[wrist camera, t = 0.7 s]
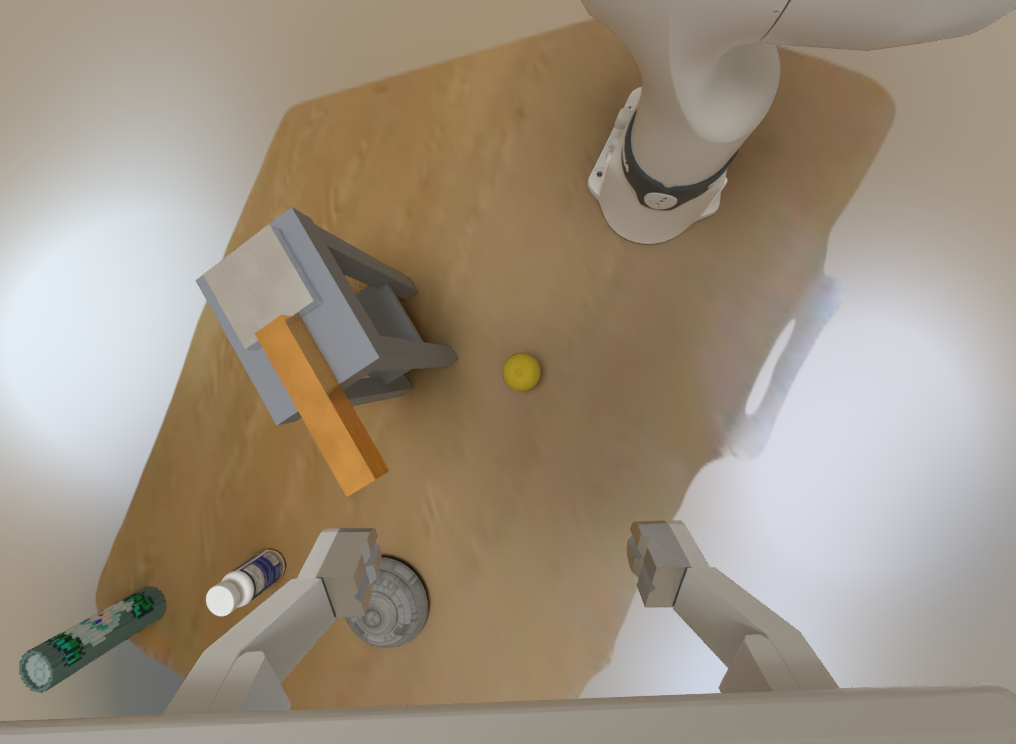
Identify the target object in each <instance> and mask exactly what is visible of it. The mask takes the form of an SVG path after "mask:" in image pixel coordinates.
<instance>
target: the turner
mask: <svg viewBox="0 0 1016 744" xmlns="http://www.w3.org/2000/svg"><path fill="white" fill-rule="evenodd" d="M203 275H204V277H205V279H206V281H207V283H208V284H209V286H210V288H211V290H212V291H213V293H214V295H215V297H216V299H217V300H218V302H219V304H220V306H221V308H222V309H223V311H224V313H225V315H226V316H227V318H228V320H229V322H230V324H231V325H232V327H233V329H234V331H235V332H236V334H237V336H238V338H239V340H240V341H241V343H242V345H243V347H244V348H245V350H257V349H258V348H260V347H261V346H262V348H263V349H264V351H265V353H266V355H267V357H268V358H269V360H270V362H271V364H272V365H273V367H274V369H275V371H276V372H277V374H278V376H279V378H280V380H281V381H282V383H283V385H284V387H285V388H286V390H287V392H288V394H289V396H290V397H291V399H292V401H293V403H294V404H295V406H296V408H297V410H298V411H299V413H300V415H301V417H302V419H303V420H304V422H305V424H306V426H307V427H308V429H309V431H310V433H311V434H312V436H313V438H314V440H315V442H316V443H317V445H318V447H319V449H320V450H321V452H322V454H323V456H324V458H325V459H326V461H327V463H328V465H329V466H330V468H331V470H332V472H333V473H334V475H335V477H336V479H337V481H338V482H339V484H340V486H341V488H342V489H343V491H344V493H345V495H346V496H347V497H348V496H349V495H351V494H353V493H354V492H356V491H358V490H359V489H361V488H363V487H364V486H366V485H368V484H369V483H371V482H372V481H374V480H376V479H377V478H379V477H381V476H382V475H384V474H385V473H387V472H388V471H389V470H388V468H387V466H386V464H385V463H384V461H383V459H382V457H381V456H380V454H379V452H378V450H377V449H376V447H375V445H374V443H373V442H372V440H371V438H370V436H369V435H368V433H367V431H366V429H365V428H364V426H363V424H362V423H361V421H360V419H359V417H358V416H357V414H356V412H355V410H354V409H353V407H352V405H351V403H350V402H349V400H348V398H347V396H346V395H345V393H344V391H343V389H342V388H341V386H340V384H339V382H338V381H337V379H336V377H335V376H334V374H333V372H332V370H331V369H330V367H329V365H328V363H327V362H326V360H325V358H324V356H323V355H322V353H321V351H320V349H319V348H318V346H317V344H316V342H315V341H314V339H313V337H312V335H311V334H310V332H309V330H308V329H307V327H306V325H305V323H304V322H303V320H302V317H304V316H305V315H307V314H308V313H309V312H311V311H312V310H314V309H315V308H317V307H318V306H319V305H321V304H322V301H321V299H320V298H319V296H318V294H317V292H316V291H315V289H314V287H313V285H312V284H311V282H310V280H309V279H308V277H307V275H306V273H305V272H304V270H303V268H302V266H301V265H300V263H299V261H298V260H297V258H296V256H295V254H294V253H293V251H292V249H291V247H290V246H289V244H288V242H287V241H286V239H285V237H284V235H283V234H282V232H281V230H280V229H279V228H276V227H274V226H272V225H270V224H269V225H267V226H266V227H265V228H263V229H262V230H261V231H260V232H258V233H257V234H256V235H254V236H253V237H252V238H250V239H249V240H248V241H246V242H245V243H244V244H243V245H241V246H240V247H239V248H237V249H236V250H235V251H233V252H232V253H231V254H229V255H228V256H227V257H226V258H224V259H223V260H222V261H220V262H219V263H218V264H217V265H215V266H214V267H213V268H211V269H210V270H209V271H207V272H206V273H205V274H203Z"/></svg>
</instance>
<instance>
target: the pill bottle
mask: <svg viewBox="0 0 1016 744" xmlns="http://www.w3.org/2000/svg"><path fill="white" fill-rule="evenodd" d="M284 570H285V562H284V559H283V557H282V556H281V554H280V553H278V552H277V551H275V550H264V551H262V552H260V553H259V554H257V555H256V556H254V557H253V558H251V559H250V560H248V561H246V562H245V563H243V564H242V565H240V566H239V567H237V568H236V569H234V570H233V571H231V572H230V573H228V574H227V575H226V576H225V577H224V578H223V579H222V581H221V582H220V583H218V584H217V585H215V586H214V587H212V588H211V589H210V590H209V592H208V593H207V597H206V603H207V606H208V608H209V610H210V611H211V612H212V613H213V614H215V615H217V616H226V615H228V614H229V613H231V612H232V611H233V610H235V609H236V608H237V607H242V606H244V605H246V604H248V603H249V602H250V601H252V600H253V599H254V598H255V597H257V596H258V595H259V594H261V593H262V592H263V591H264V590H266V589H267V588H268V587H269V586H271V585H272V584H273V583H275V582H276V581H277V580H278V579H280V578H281V577H282V575H283V573H284Z"/></svg>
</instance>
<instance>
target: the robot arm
mask: <svg viewBox="0 0 1016 744" xmlns="http://www.w3.org/2000/svg"><path fill="white" fill-rule="evenodd" d="M581 1H582V3H583V5H584V6H585V8H586V10H587V12H588V13H589V14H590V16H592V17H593V18H595V19H596V20H598V21H599V22H600V23H602V24H603V25H604V26H606V27H607V28H608V29H609V30H610V31H611V32H613V33H614V34H615V35H616V36H617V37H618V38H619V39H620V41H621V42H622V43H623V44H624V45H625V47H626V48H627V49H628V51H629V52H630V54H631V55H632V57H633V59H634V60H635V62H636V64H637V66H638V68H639V71H640V74H641V77H642V81H643V82H642V87H639V88H637V89H635V90H633V91H632V92H631V94H630V96H629V98H628V100H627V102H626V104H625V106H624V108H621V110H620V112H619V114H618V116H617V119H616V122H615V125H614V128H613V130H612V132H611V134H610V136H609V138H608V140H607V142H606V144H605V146H604V148H603V150H602V152H601V154H600V156H599V158H598V160H597V162H596V164H595V166H594V169H593V171H592V173H591V175H590V177H589V179H588V182H587V187H588V189H589V191H590V192H591V193H592V195H593V196H594V197H595V198H596V199H597V200H598V201H599V203H600V206H601V209H602V212H603V214H604V217H605V219H606V221H607V222H608V224H609V225H610V227H611V228H612V229H613V230H614V231H615V232H616V233H617V234H619V235H620V236H622V237H623V238H625V239H627V240H630V241H632V242H636V243H641V244H655V243H661V242H664V241H667V240H670V239H672V238H674V237H676V236H678V235H679V234H681V233H682V232H683V231H685V230H686V229H687V228H688V227H689V226H690V225H691V224H693V223H694V222H696V221H698V220H701V219H704V218H706V217H709V216H711V215H713V214H714V213H715V212H716V211H717V209H718V208H719V205H720V197H721V191H722V189H723V188H724V186H725V185H726V183H727V180H728V179H727V178H726V173H727V169H728V168H729V166H730V165H731V163H732V161H733V159H734V158H735V156H736V154H737V152H738V149H739V148H740V146H741V145H742V144H743V143H744V142H745V140H746V139H747V138H748V137H749V136H750V134H751V133H752V132H753V131H754V130H755V128H756V127H757V126H758V125H759V124H760V122H761V121H762V120H763V118H764V117H765V116H766V114H767V112H768V111H769V109H770V107H771V105H772V103H773V100H774V98H775V95H776V92H777V89H778V85H779V80H780V58H779V54H778V49H777V45H776V44H779V45H793V46H806V47H821V48H835V49H850V50H862V51H869V50H876V49H884V48H892V47H899V46H907V45H914V44H920V43H925V42H932V41H938V40H943V39H950V38H956V37H962V36H965V35H969V34H971V33H974V32H977V31H979V30H981V29H983V28H985V27H987V26H989V25H990V24H992V23H994V22H995V21H997V20H998V19H1000V18H1002V17H1003V16H1005V15H1006V14H1007V13H1009V12H1011V11H1013V10H1014V9H1015V8H1016V0H581ZM597 174H601V175H602V176H601V177H598V176H597ZM630 530H631V533H632V535H633V536H632V537H631V538H629V539H628V543H627V557H628V561H629V565H630V568H631V570H632V572H633V573H634V574H635V575H636V576H637V577H639V579H638V583H637V587H638V590H639V592H640V595H641V598H642V600H643V603H644V606H645V607H673V609H674V610H675V612H676V613H678V615H679V616H680V617H681V618H682V619H683V620H684V621H685V622H686V623H687V624H688V625H689V627H690V628H691V629H692V630H693V631H694V632H695V633H696V634H697V635H698V636H699V637H700V638H701V639H702V640H703V642H704V643H705V644H706V645H707V646H708V647H709V648H710V649H711V650H712V651H713V652H714V653H715V654H716V656H718V658H719V659H720V660H721V661H722V662H723V663H724V664H725V665H726V666H727V667H728V670H727V672H726V674H725V676H724V678H723V680H722V682H721V684H720V686H719V689H720V692H721V693H714V694H687V695H661V696H635V697H611V698H585V699H558V700H532V701H506V702H481V703H455V704H430V705H405V706H379V707H354V708H329V709H304V710H289V709H290V706H291V703H290V700H289V698H288V696H287V695H286V693H285V691H284V689H283V687H282V686H281V683H282V682H283V681H284V679H285V678H286V677H287V676H288V675H289V674H290V672H291V671H292V670H293V669H294V668H295V667H296V665H297V664H298V663H299V662H300V661H301V660H302V658H303V657H304V656H305V655H306V654H307V653H308V651H309V650H310V649H311V648H312V647H313V646H314V644H315V643H316V642H317V641H318V640H319V639H320V637H321V636H322V635H323V634H324V633H325V632H326V630H327V629H328V628H329V627H330V626H331V625H332V623H333V622H334V621H335V618H341V617H358V616H365V615H366V612H367V608H368V605H369V602H370V599H371V596H372V590H371V586H370V585H371V584H372V583H373V582H374V581H375V580H376V579H377V576H378V573H379V569H380V563H381V550H380V546H379V545H378V544H377V543H376V539H377V533H376V529H374V528H325V529H324V530H323V531H322V532H321V533H320V535H319V537H318V539H317V541H316V543H315V545H314V546H313V548H312V550H311V552H310V554H309V556H308V558H307V560H306V562H305V564H304V566H303V568H302V569H301V571H300V573H299V575H298V577H297V579H291V580H290V581H289V582H287V583H286V584H285V585H284V586H282V587H281V588H280V589H279V590H278V591H276V592H275V593H274V594H273V595H272V596H270V597H269V598H268V599H267V600H265V601H264V602H263V603H262V604H261V605H259V606H258V607H257V608H256V609H255V610H253V611H252V612H251V613H250V614H248V615H247V616H246V617H245V618H244V619H242V620H241V621H240V622H239V623H238V624H236V625H235V626H234V627H233V628H231V629H230V630H229V631H228V632H227V633H225V634H224V635H223V636H222V637H220V638H219V639H218V640H217V641H216V642H214V643H213V644H212V645H211V646H210V647H208V648H207V649H206V650H205V651H203V653H202V655H201V656H200V658H199V659H198V661H197V662H196V664H195V665H194V667H193V669H192V670H191V672H190V673H189V675H188V676H187V678H186V679H185V681H184V683H183V684H182V686H181V687H180V689H179V690H178V692H177V693H176V695H175V697H174V698H173V700H172V701H171V703H170V704H169V706H168V707H167V709H166V711H165V712H164V714H163V715H154V716H153V715H152V716H130V717H129V716H127V717H102V718H76V719H49V720H19V721H0V744H1016V694H1015V693H1014V692H1012V691H1010V690H1008V689H1005V688H1003V687H1000V686H997V685H993V684H985V683H964V684H940V685H915V686H889V687H864V688H839V687H838V685H837V684H836V682H835V681H834V679H833V678H832V677H831V675H830V674H829V672H828V671H827V670H826V668H825V667H824V665H823V664H822V662H821V661H820V660H819V658H818V657H817V655H816V654H815V652H814V651H813V649H812V648H811V647H810V645H809V644H808V642H807V641H806V640H805V638H804V637H803V635H802V634H801V632H800V631H798V630H797V629H796V628H794V627H793V626H792V625H790V624H789V623H788V622H786V621H785V620H784V619H782V618H781V617H780V616H779V615H777V614H776V613H775V612H773V611H772V610H771V609H769V608H768V607H767V606H765V605H764V604H762V603H761V602H760V601H759V600H757V599H756V598H755V597H753V596H752V595H751V594H749V593H748V592H747V591H745V590H744V589H743V588H741V587H740V586H739V585H737V584H736V583H735V582H734V581H732V580H731V579H730V578H728V577H727V576H725V575H724V574H723V573H721V572H720V571H719V570H718V569H716V568H715V567H709V565H708V563H707V561H706V560H705V558H704V556H703V555H702V553H701V551H700V550H699V548H698V546H697V545H696V543H695V541H694V539H693V538H692V536H691V534H690V533H689V531H688V529H687V528H686V526H685V524H684V523H683V522H682V521H639V522H633V523H632V525H631V529H630Z"/></svg>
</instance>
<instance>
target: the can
mask: <svg viewBox="0 0 1016 744" xmlns="http://www.w3.org/2000/svg"><path fill="white" fill-rule="evenodd" d="M165 611H166V600H164V596H162V593H161V591H158V590H157V588H153V587H146V588H143V589H141V590H140V591H138V592H136V593H134V594H132V595H130V596H128V597H127V598H125V599H123V600H121V601H119V602H117V603H116V604H114V605H112V606H110V607H108V608H106V609H104V610H103V611H101V612H99V613H97V614H95V615H94V616H92V617H90V618H88V619H86V620H84V621H82V622H81V623H79V624H77V625H75V626H73V627H71V628H69V629H68V630H66V631H64V632H62V633H60V634H58V635H57V636H55V637H53V638H51V639H49V640H47V641H45V642H44V643H42V644H40V645H38V646H36V647H34V648H32V649H31V650H29V651H27V652H26V653H25V654H24V655H23V656H22V660H21V661H20V667H19V669H20V670H19V674H20V675H22V677H21V679H22V680H23V681H24V684H26V687H30V690H31V691H36V692H39V693H42V692H43V691H47V690H48V689H50V688H52V687H53V686H55V685H56V684H58V683H59V682H61V681H63V680H64V679H66V678H67V677H69V676H70V675H72V674H73V673H75V672H77V671H78V670H80V669H81V668H83V667H84V666H86V665H88V664H89V663H91V662H92V661H94V660H95V659H97V658H99V657H100V656H102V655H103V654H105V653H106V652H108V651H109V650H111V649H113V648H114V647H116V646H117V645H119V644H120V643H122V642H124V641H125V640H127V639H128V638H130V637H131V636H133V635H135V634H136V633H138V632H139V631H141V630H142V629H144V628H146V627H147V626H149V625H150V624H152V623H153V622H155V621H157V620H158V619H160V617H162V616H163V615H164V612H165Z"/></svg>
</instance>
